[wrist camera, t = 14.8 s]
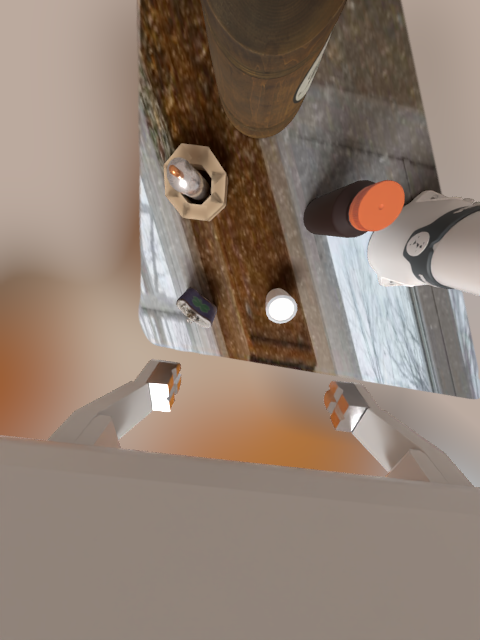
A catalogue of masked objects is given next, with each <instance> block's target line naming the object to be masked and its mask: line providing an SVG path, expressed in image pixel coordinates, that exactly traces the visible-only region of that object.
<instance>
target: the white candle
mask: <svg viewBox="0 0 480 640" xmlns="http://www.w3.org/2000/svg"><path fill="white" fill-rule="evenodd" d="M167 179H168V181H169V183H170V185H171V186H172V187H173V188H174V189H175V190H176V191H178V192H181V193H183V194H185V195H187V196H189V197H191V198H193V199H195V200H198V201H204V200H206V199H207V198H208V197H209V194H210V186H209V184H208V182H207V181H206V180H205V179H204V178H203V177H202V176H201V174H200V173H199V172H198V171H197V170H196V169H195V168H194V167H193V166H192V165H191V164H190V163H189V162H188V161H187V160H185V159H184V158H180V157H177V158H174V159H172V160H171V161H170V162H169V164H168V166H167Z"/></svg>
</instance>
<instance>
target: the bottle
mask: <svg viewBox="0 0 480 640" xmlns="http://www.w3.org/2000/svg"><path fill="white" fill-rule="evenodd" d="M404 200H405V199H404V192H403V189H402V187H401V186H400V184H399V183H397V182H394V181H392V180H391V181H390V180H385V181H381V182H378V183H374V182H371V181H368V180H363V181H357V182H354V183H352V184H349V185H347V186H345V187H342V188H340V189H337V190H335V191H333V192H330V193H328V194H326V195H323V196H321V197H318V198H316V199H314V200H313V201H312V202H311V203H310V204H309V205H308V207H307V208H306V210H305V213H304V225H305V227H306V229H307V230H308V231H309V232H311V233H313V234H319V235H328V236H337V237H346V238H349V237H357V236H360V235H363V234H364V233H366V232H367V231H379V230H382V229H385V228H386V227H388V226H389V225H390V224H392V223H393V222H394V220H395V219H397V217H398V216H399V215H400V213H401V211H402V208H403V205H404V202H405V201H404Z"/></svg>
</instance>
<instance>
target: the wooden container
mask: <svg viewBox="0 0 480 640" xmlns="http://www.w3.org/2000/svg"><path fill="white" fill-rule="evenodd" d="M346 1H347V0H201V3H202V9H203V14H204V20H205V25H206V31H207V36H208V42H209V48H210V54H211V59H212V64H213V69H214V73H215V78H216V82H217V87H218V92H219V96H220V100H221V103H222V106H223V109H224V111H225V113H226V115H227V117H228V119H229V120H230V122H231V123H232V124H233V125H234V127H235V128H236V129H237V130H239V131H240V132H241V133H243V134H245V135H247V136H249V137H252V138H267V137H270V136H273V135H275V134H277V133H279V132H280V131H282V130H283V129H284V128H285V127H286V126H287V125H288V124H289V123H290V122H291V121H292V119H293V118H294V117H295V115H296V113H297V112H298V110H299V108H300V106H301V104H302V102H303V100H304V98H305V95H306V93H307V91H308V89H309V87H310V85H311V82H312V80H313V78H314V75H315V73H316V70H317V68H318V66H319V63H320V61H321V58H322V55H323V53H324V50H325V48H326V45H327V43H328V40H329V38H330V36H331V33H332V31H333V28H334V26H335V24H336V22H337V20H338V18H339V16H340V14H341V12H342V10H343V8H344V5H345V3H346Z"/></svg>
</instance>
